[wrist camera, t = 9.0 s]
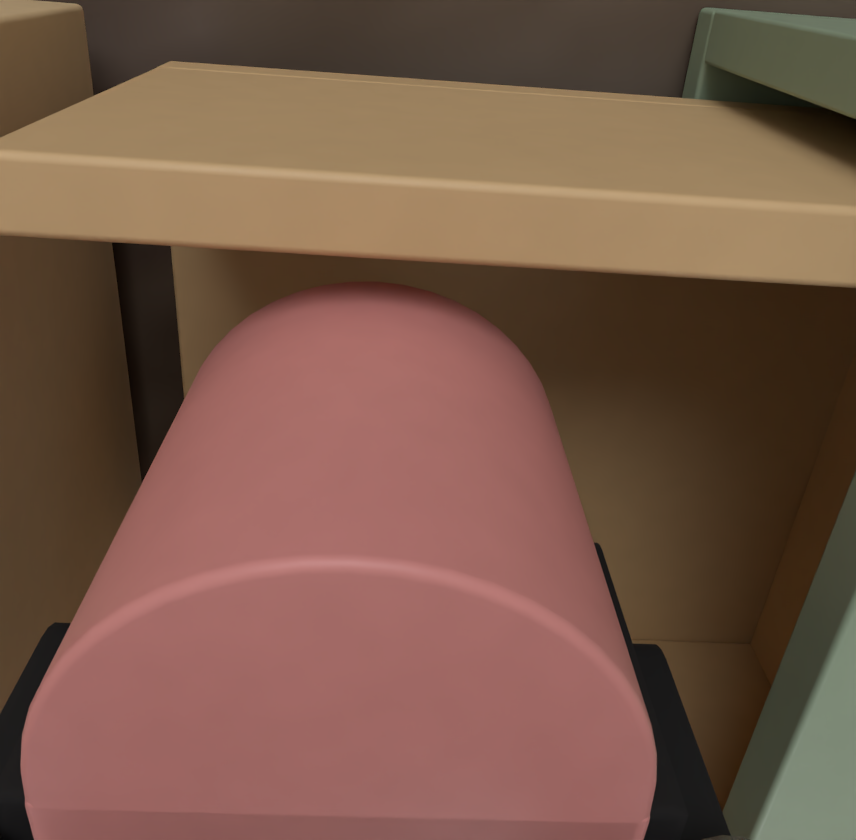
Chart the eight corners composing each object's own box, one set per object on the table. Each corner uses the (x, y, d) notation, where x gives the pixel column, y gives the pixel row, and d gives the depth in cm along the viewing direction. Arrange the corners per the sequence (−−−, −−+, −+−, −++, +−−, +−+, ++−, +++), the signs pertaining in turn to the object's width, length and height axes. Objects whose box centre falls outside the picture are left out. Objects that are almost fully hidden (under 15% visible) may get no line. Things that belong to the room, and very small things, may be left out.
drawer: (-96, 622, 19) (-345, 952, 13) (-309, -26, 13) (-1040, -7, 6) (749, 656, 20) (903, 976, 14) (961, 69, 14) (1441, 171, 7)
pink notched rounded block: (167, 265, 9) (-50, 545, 5) (582, 291, 9) (732, 577, 5) (217, 822, 13) (132, 1212, 9) (490, 829, 14) (526, 1213, 10)
